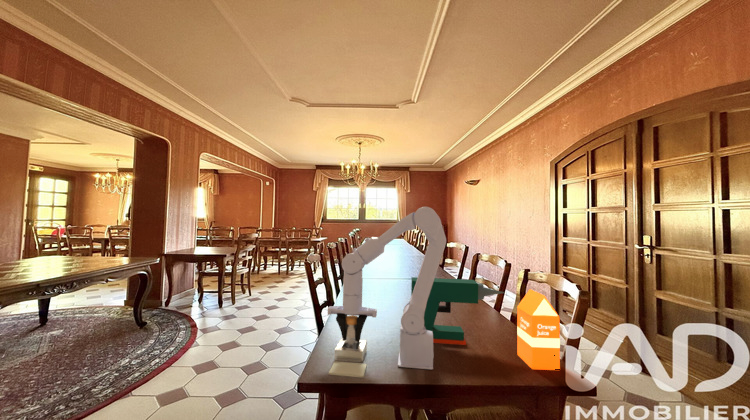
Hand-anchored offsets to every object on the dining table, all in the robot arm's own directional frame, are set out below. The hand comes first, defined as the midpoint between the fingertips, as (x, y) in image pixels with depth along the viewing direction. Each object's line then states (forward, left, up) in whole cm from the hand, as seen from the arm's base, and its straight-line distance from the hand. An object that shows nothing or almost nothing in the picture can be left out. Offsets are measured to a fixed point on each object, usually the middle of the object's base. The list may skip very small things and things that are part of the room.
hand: (351, 339), depth 84 cm
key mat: (-1, +8, -4) cm, 10 cm away
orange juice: (-54, -5, -5) cm, 54 cm away
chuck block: (0, 0, -4) cm, 4 cm away
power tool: (-33, -17, -5) cm, 37 cm away
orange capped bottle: (0, 0, -3) cm, 3 cm away
